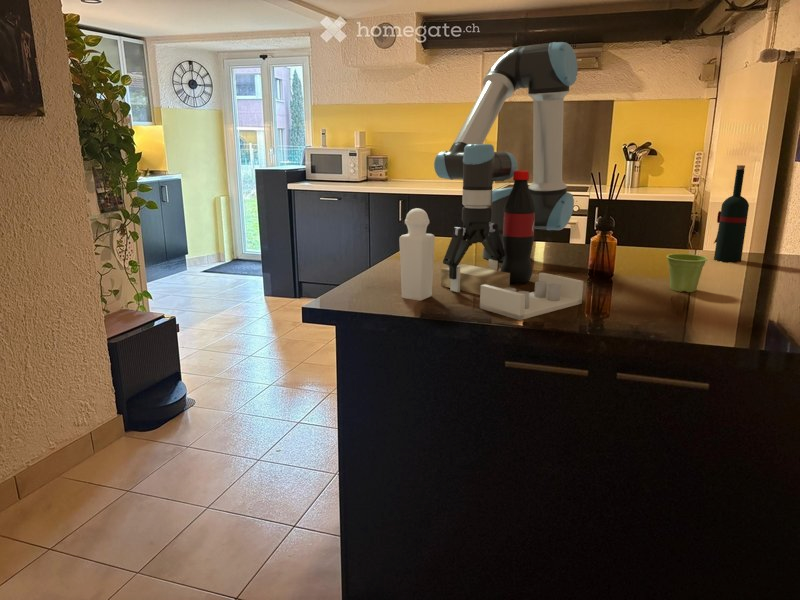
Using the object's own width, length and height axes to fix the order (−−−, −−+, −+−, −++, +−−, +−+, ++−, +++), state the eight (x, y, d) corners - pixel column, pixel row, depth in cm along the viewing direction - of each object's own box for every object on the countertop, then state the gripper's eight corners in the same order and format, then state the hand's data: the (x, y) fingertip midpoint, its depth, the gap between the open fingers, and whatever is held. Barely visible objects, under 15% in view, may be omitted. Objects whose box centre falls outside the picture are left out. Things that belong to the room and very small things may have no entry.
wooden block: (440, 286, 157) (441, 268, 156) (463, 281, 163) (463, 264, 162) (486, 297, 146) (487, 278, 144) (509, 291, 152) (510, 273, 150)
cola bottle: (533, 279, 164) (539, 170, 156) (529, 286, 156) (536, 171, 148) (503, 277, 166) (507, 169, 158) (498, 284, 158) (502, 171, 151)
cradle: (541, 293, 148) (542, 272, 147) (581, 303, 139) (583, 281, 137) (479, 308, 135) (480, 285, 134) (519, 320, 126) (520, 295, 125)
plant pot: (686, 296, 145) (691, 261, 143) (655, 288, 153) (658, 255, 151) (711, 291, 150) (715, 258, 147) (679, 284, 158) (683, 252, 155)
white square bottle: (421, 301, 141) (422, 210, 135) (398, 298, 144) (398, 208, 139) (434, 296, 146) (435, 207, 141) (412, 292, 150) (412, 206, 144)
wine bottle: (723, 256, 196) (737, 164, 188) (747, 262, 186) (762, 165, 178) (703, 257, 194) (715, 164, 186) (725, 263, 184) (739, 166, 177)
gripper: (499, 202, 159) (496, 278, 164) (429, 208, 144) (428, 291, 150) (521, 204, 153) (516, 283, 159) (450, 210, 138) (448, 297, 144)
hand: (474, 287), depth 154 cm, fingers open, 13 cm apart
